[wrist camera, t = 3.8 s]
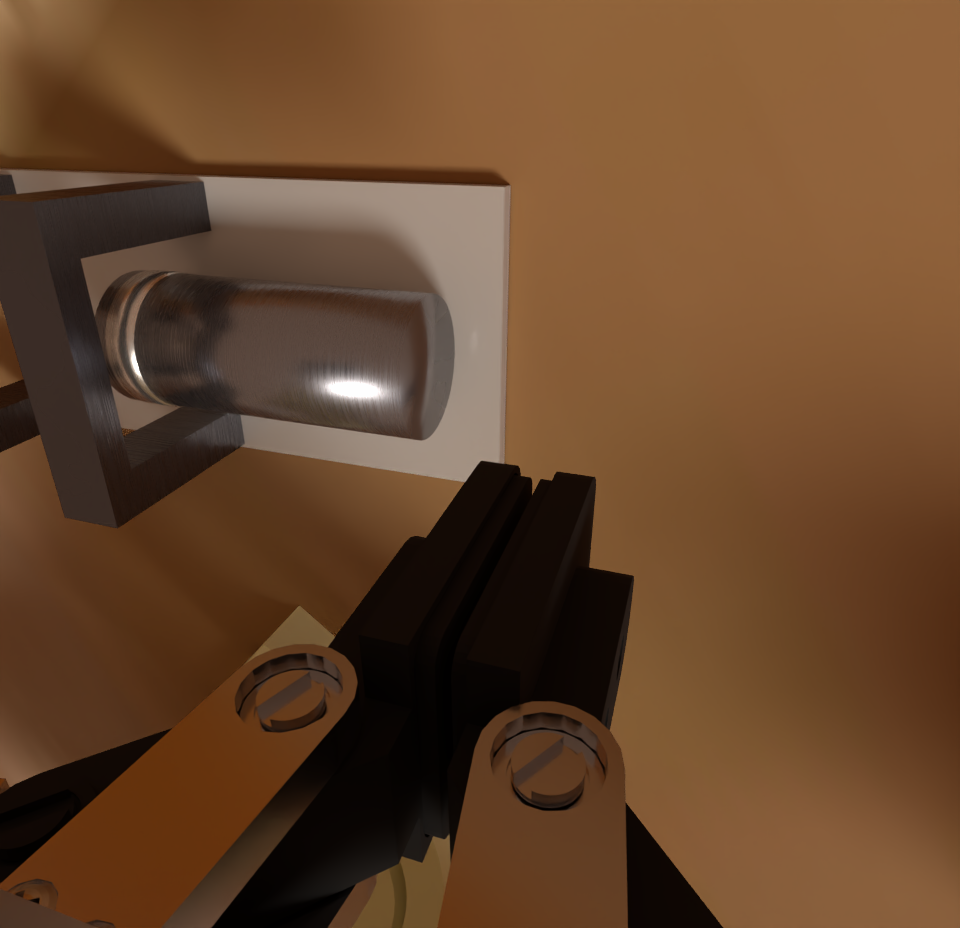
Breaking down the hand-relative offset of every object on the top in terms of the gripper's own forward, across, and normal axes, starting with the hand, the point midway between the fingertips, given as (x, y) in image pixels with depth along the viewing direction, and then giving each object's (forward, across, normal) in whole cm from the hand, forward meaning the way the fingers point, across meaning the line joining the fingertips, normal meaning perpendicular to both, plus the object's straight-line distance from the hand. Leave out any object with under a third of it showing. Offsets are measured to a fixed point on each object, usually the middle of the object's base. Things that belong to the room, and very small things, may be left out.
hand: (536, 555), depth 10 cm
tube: (+12, +10, +1) cm, 16 cm away
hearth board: (+12, +14, +1) cm, 19 cm away
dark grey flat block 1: (+12, +15, +1) cm, 19 cm away
